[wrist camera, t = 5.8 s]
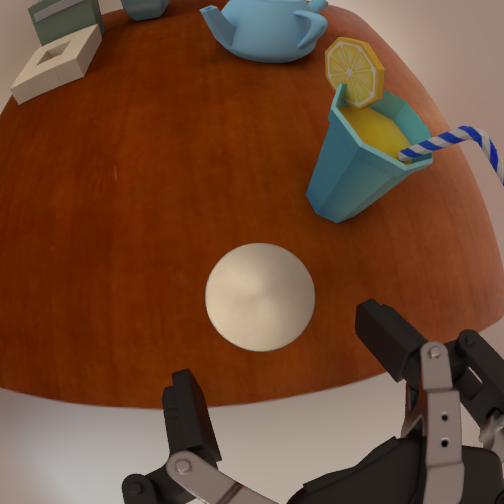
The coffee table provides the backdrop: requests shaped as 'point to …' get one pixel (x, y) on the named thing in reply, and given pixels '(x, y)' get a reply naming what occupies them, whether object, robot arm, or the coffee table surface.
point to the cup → (372, 136)
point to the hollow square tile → (57, 64)
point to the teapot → (268, 28)
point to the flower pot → (144, 8)
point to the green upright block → (64, 18)
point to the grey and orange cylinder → (260, 297)
